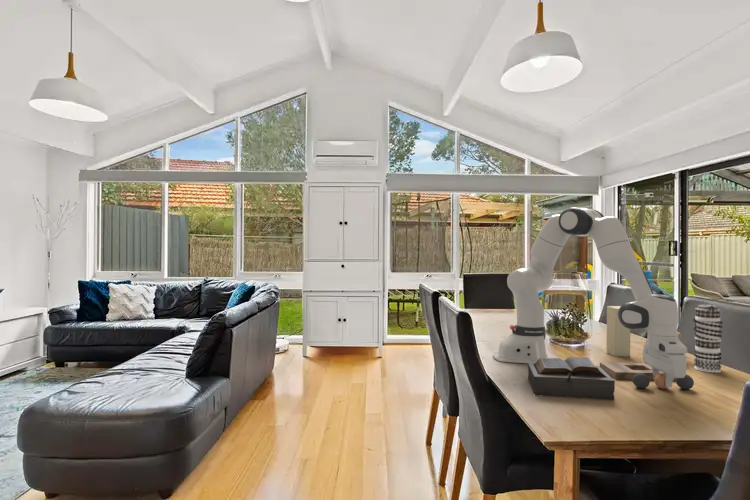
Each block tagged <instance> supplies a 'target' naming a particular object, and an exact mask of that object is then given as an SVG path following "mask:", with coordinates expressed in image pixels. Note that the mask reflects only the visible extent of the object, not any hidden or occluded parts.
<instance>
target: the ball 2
mask: <svg viewBox="0 0 750 500" xmlns="http://www.w3.org/2000/svg"><path fill="white" fill-rule="evenodd" d="M675 383H676V385H677V387H679V388H680V389H682V390H691V389H692V388H693V387H694V384H695V381H694V379H693V377H692V376H691V375H689V374H687V373H686V375H685V377H684V378H676V380H675Z"/></svg>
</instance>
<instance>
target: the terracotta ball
mask: <svg viewBox="0 0 750 500" xmlns="http://www.w3.org/2000/svg"><path fill="white" fill-rule="evenodd" d="M665 380H666V376H665V374H662V373H661V374H657V375H656V376H655V378H654V380H653V382H654V384H655V386H656V387H657V388H659V389H662V390H667V389H669V388H670V387H666V386H664V381H665Z"/></svg>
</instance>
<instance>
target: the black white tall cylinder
mask: <svg viewBox="0 0 750 500" xmlns="http://www.w3.org/2000/svg"><path fill="white" fill-rule="evenodd" d="M694 309H695V316H694V318H693V319H692V321H693V322H694V323H693V331H695V332H694V333H693V336H694V339H695V346H694V347H695V349H694V351H693V353H694V357H695V358H694V359H693V361H694V363H693V365H694V370H697V371H699V372H704V373H705V372H706V373H714V372H715V373H717V374H718V373H722V370H721V369H722V361H721V360H722V357H721V356H722V353H721V347H720V346H721V342H722V339H721V338H722V333H723V331H722V330H721V329H722V328H723V325H722V324H723V321H722V320H721V309H719V308H718V306H717V305H714V304H697V306H696V307H695V308H694Z"/></svg>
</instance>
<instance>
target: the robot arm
mask: <svg viewBox="0 0 750 500" xmlns="http://www.w3.org/2000/svg"><path fill="white" fill-rule="evenodd" d="M572 236H575V237H590V238H592V239H593V242H594V243H595V247H596V250H597V255H598V256H599V259H600V262H602V264H603V266H604V267H605V268H607V269H609V270H611V271H614V272H615V273H618V274H619V275H621V277H623V278H624V279H625V280H626V281H627V284H628V285H629V288H630V291H631V292H632V295H633V296H634V299H635V300H634V301H630V302H626V303H624V304H622V305H620V306H621V307H620V308H619V311H618V318H619V321H620V323H621V324H622V325H623V326H624V327H626V328H628V329H630V330H646V331H647V333H646V335H647V337H646V339H647V340H646V341H645V343H644V344H643V348H642V361H643V362H642V363H646V364H648V365H650V366H651V367H652V372H653V375H654V378H655V376H656V375H657V374H660V372H659V371H661V372H663V373H665V376H666V380H665V381H664V386H666V387H669V388H672V387H673V382H674V381H675V380H674V378H684V377H685V375H686V374H687V357H686V356H687V355H686V354H688V347H687V346H686V345H685V344H684V343H682V340H681V341H680V340H679V339H678V332H679V331H678V325H679V308H678V302H677V300H676V299H675V298H674V297H673V296H670V295H667V294H661V293H654V291H653V288H652V287H651V284H650V282H649V280H648V277H647V276H646V273H645V271H644V269H643V267H642V264H641V263H640V262H639V260H638V258H637V257H636V254H635V252H634V249H633V247H632V244H631V242H630V239H629V236H628V234H627V232H626V229H625V228H624V225H623V224H622V222H621V221H620V219H619V218H617V217H616V216H604V215H603V213H601V212H600V211H598V210H597V209H596V210H595V209H593V208H592V209H591V208H587V207H578V206H577V207H568V208H566V209H564V210H563V211H561V213H560V214H552V215H550V217H548V218H547V220H546V221H545V223H544V225H542V227H541V229H540V231H539V232H538V234H537V236H536V239H535V241H534V242H533V245H532V246H531V249H530V251H529V254H530V260H529V263H528V266H527V267H520V268H517V269H515V270H512V271H511V272H509V274H508V275H507V278H506V284H507V287H508V289H509V290H510V291H511V293H512V295H513V297H514V301H515V307H516V324H515V325H514V324H510V325H509V329H510V330H511V334H509V335H508V336H507V337H505V338H504V339H502V340H501V341H500V343H499V346H498V350H497V351H495V352H493V355H492V357H493V358H494V359H495V360H496V361H498V362H503V363H518V364H528V363H536V362H537V360H538V359H540V358H549V356H548V354H547V348H546V334H547V333H546V326H545V307H544V306H543V305H542V303H541V300H540V296H539V293H542V292H545V291H546V290H548V289H549V288H551V287H552V285H553V283H554V277H553V273H554V269H555V265H556V264H557V260H558V258H559V256H560V255H561V252H562V250H563V249H564V247H565V245H566V243H567V241H568V239H569V238H570V237H572Z"/></svg>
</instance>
